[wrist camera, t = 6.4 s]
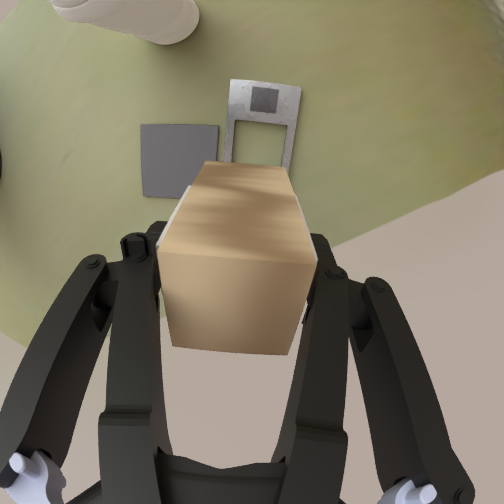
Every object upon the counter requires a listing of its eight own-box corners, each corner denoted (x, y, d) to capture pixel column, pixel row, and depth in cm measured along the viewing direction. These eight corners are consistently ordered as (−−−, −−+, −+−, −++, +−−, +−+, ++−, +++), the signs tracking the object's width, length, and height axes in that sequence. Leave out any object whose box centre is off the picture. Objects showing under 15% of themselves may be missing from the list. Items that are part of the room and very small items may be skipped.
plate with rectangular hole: (221, 200, 36) (220, 204, 35) (231, 79, 27) (230, 79, 26) (281, 206, 36) (282, 210, 35) (300, 87, 27) (301, 87, 26)
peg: (204, 228, 19) (172, 346, 11) (205, 160, 16) (157, 251, 8) (274, 234, 20) (287, 355, 11) (285, 167, 17) (316, 264, 8)
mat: (144, 195, 36) (143, 196, 35) (141, 124, 30) (140, 125, 30) (214, 199, 36) (213, 200, 36) (218, 125, 30) (218, 126, 30)
